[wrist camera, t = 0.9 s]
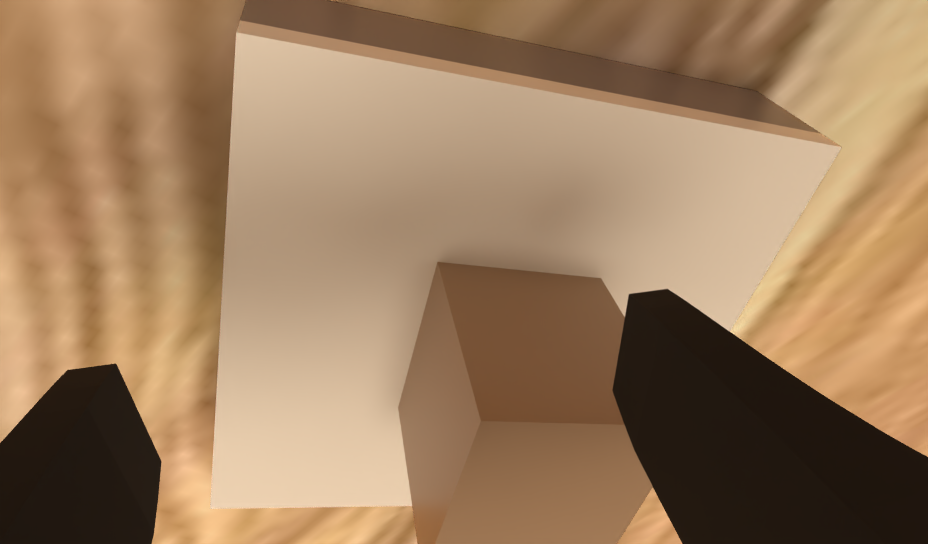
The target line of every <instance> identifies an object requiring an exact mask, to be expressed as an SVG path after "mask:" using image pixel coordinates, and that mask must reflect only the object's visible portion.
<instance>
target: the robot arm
mask: <svg viewBox="0 0 928 544" xmlns="http://www.w3.org/2000/svg"><path fill="white" fill-rule="evenodd" d="M612 391H613V394H614V397H615V400H616V402H617V405H618V408H619V411H620V414H621V416H622V419H623V422H624V425H625V427H626V430H627V433H628V435H629V438H630V440H631V443H632V446H633V448H634V451H635V453H636V455H637V457H638V459H639V461H640V463H641V465H642V467H643V469H644V470H645V472H646V474H647V476H648V478H649V480H650V482H651V484H652V486H653V488H654V490H655V492H656V494H657V496H658V498H659V500H660V501H661V503H662V505H663V507H664V509H665V511H666V513H667V515H668V517H669V519H670V521H671V522H672V524H673V526H674V528H675V530H676V532H677V534H678V536H679V538H680V540H681V542H682V543H683V544H928V457H927V456H925V455H923V454H921V453H919V452H917V451H915V450H914V449H912V448H910V447H908V446H906V445H905V444H903V443H901V442H899V441H898V440H896V439H894V438H893V437H891V436H889V435H887V434H886V433H884V432H882V431H880V430H879V429H877V428H875V427H874V426H872V425H871V424H869V423H867V422H866V421H864V420H862V419H861V418H859V417H858V416H856V415H854V414H853V413H851V412H849V411H848V410H846V409H844V408H843V407H841V406H840V405H838V404H836V403H835V402H833V401H831V400H830V399H828V398H827V397H825V396H824V395H822V394H821V393H819V392H818V391H816V390H814V389H813V388H811V387H810V386H808V385H807V384H805V383H804V382H802V381H801V380H799V379H798V378H796V377H795V376H793V375H792V374H790V373H789V372H787V371H786V370H784V369H783V368H781V367H780V366H778V365H777V364H775V363H774V362H772V361H771V360H769V359H768V358H767V357H765V356H764V355H762V354H761V353H759V352H758V351H756V350H755V349H754V348H752V347H751V346H749V345H748V344H746V343H745V342H744V341H742V340H741V339H739V338H738V337H737V336H735V335H734V334H732V333H731V332H729V331H728V330H727V329H725V328H724V327H722V326H721V325H720V324H718V323H717V322H715V321H714V320H712V319H711V318H710V317H708V316H707V315H705V314H704V313H703V312H701V311H700V310H698V309H697V308H695V307H694V306H693V305H691V304H690V303H688V302H687V301H685V300H684V299H682V298H681V297H679V296H678V295H676V294H675V293H673V292H672V291H670V290H669V289H662V290H654V291H647V292H640V293H632V294H629V296H628V302H627V308H626V314H625V319H624V325H623V331H622V337H621V343H620V349H619V354H618V360H617V366H616V372H615V378H614V383H613V389H612ZM160 471H161V460H160V458H159V455H158V453H157V451H156V449H155V447H154V445H153V442H152V440H151V438H150V436H149V434H148V432H147V429H146V427H145V425H144V423H143V421H142V419H141V416H140V414H139V412H138V410H137V408H136V406H135V403H134V401H133V399H132V397H131V395H130V393H129V390H128V388H127V386H126V384H125V382H124V380H123V377H122V375H121V373H120V371H119V369H118V367H117V364H110V365H102V366H95V367H88V368H80V369H73V370H67V371H66V372H65V373H64V374H63V375H62V376H61V377H60V378H59V379H58V380H57V382H56V383H55V384H54V385H53V386H52V387H51V388H50V389H49V390H48V391H47V392H46V393H45V394H44V396H43V397H42V398H41V399H40V400H39V401H38V402H37V403H36V404H35V405H34V407H33V408H32V409H31V410H30V411H29V412H28V413H27V414H26V415H25V416H24V418H23V419H22V420H21V421H20V422H19V423H18V424H17V425H16V426H15V428H14V429H13V430H12V431H11V432H10V433H9V434H8V435H7V436H6V438H5V439H4V440H3V441H2V442H1V443H0V544H152V539H153V535H154V528H155V519H156V511H157V503H158V493H159V482H160Z"/></svg>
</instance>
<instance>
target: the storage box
mask: <svg viewBox="0 0 928 544" xmlns="http://www.w3.org/2000/svg"><path fill="white" fill-rule="evenodd" d="M240 20H241V21H246V22H251V23H257V24H262V25H267V26H272V27H277V28H282V29H287V30H292V31H298V32H303V33H308V34H313V35H318V36H323V37H328V38H333V39H339V40H344V41H349V42H354V43H359V44H364V45H369V46H374V47H380V48H385V49H390V50H395V51H400V52H405V53H410V54H415V55H420V56H426V57H431V58H436V59H441V60H446V61H451V62H456V63H461V64H467V65H472V66H477V67H482V68H487V69H492V70H497V71H502V72H508V73H513V74H518V75H523V76H528V77H533V78H538V79H543V80H549V81H554V82H559V83H564V84H569V85H574V86H579V87H584V88H590V89H595V90H600V91H605V92H610V93H615V94H620V95H625V96H631V97H636V98H641V99H646V100H651V101H656V102H661V103H666V104H672V105H677V106H682V107H687V108H692V109H697V110H702V111H707V112H713V113H718V114H723V115H728V116H733V117H738V118H743V119H748V120H754V121H759V122H764V123H769V124H774V125H779V126H784V127H789V128H795V129H800V130H805V131H810V132H815V133H820V132H818V131H817V130H815V129H814V128H812V127H810V126H809V125H807V124H806V123H804V122H803V121H801V120H800V119H798V118H797V117H795V116H794V115H792V114H791V113H789V112H788V111H786V110H785V109H783V108H782V107H780V106H779V105H777V104H776V103H774V102H772V101H771V100H769V99H768V98H766V97H765V96H763V95H762V94H760V93H759V92H757V91H753V90H749V89H744V88H739V87H734V86H730V85H725V84H720V83H716V82H711V81H706V80H701V79H697V78H692V77H687V76H682V75H678V74H673V73H668V72H664V71H659V70H654V69H649V68H645V67H640V66H635V65H631V64H626V63H621V62H616V61H612V60H607V59H602V58H597V57H593V56H588V55H583V54H579V53H574V52H569V51H564V50H560V49H555V48H550V47H545V46H541V45H536V44H531V43H527V42H522V41H517V40H512V39H508V38H503V37H498V36H493V35H489V34H484V33H479V32H475V31H470V30H465V29H460V28H456V27H451V26H446V25H441V24H437V23H432V22H427V21H423V20H418V19H413V18H408V17H404V16H399V15H394V14H389V13H385V12H380V11H375V10H371V9H366V8H361V7H356V6H352V5H347V4H342V3H337V2H333V1H328V0H246V3H245V6H244V9H243V12H242V16H241V19H240ZM820 134H821V133H820Z"/></svg>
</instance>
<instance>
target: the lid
mask: <svg viewBox="0 0 928 544" xmlns="http://www.w3.org/2000/svg"><path fill="white" fill-rule="evenodd" d="M841 148H842V147H841V146H839V145H838V144H836V143H835V142H833V141H832V140H830V139H829V138H827V137H826V136H824V135H823V134H820V133H815V132H810V131H805V130H800V129H795V128H789V127H784V126H779V125H774V124H769V123H764V122H759V121H754V120H748V119H743V118H738V117H733V116H728V115H723V114H718V113H713V112H707V111H702V110H697V109H692V108H687V107H682V106H677V105H672V104H666V103H661V102H656V101H651V100H646V99H641V98H636V97H631V96H625V95H620V94H615V93H610V92H605V91H600V90H595V89H590V88H584V87H579V86H574V85H569V84H564V83H559V82H554V81H549V80H543V79H538V78H533V77H528V76H523V75H518V74H513V73H508V72H502V71H497V70H492V69H487V68H482V67H477V66H472V65H467V64H461V63H456V62H451V61H446V60H441V59H436V58H431V57H426V56H420V55H415V54H410V53H405V52H400V51H395V50H390V49H385V48H380V47H374V46H369V45H364V44H359V43H354V42H349V41H344V40H339V39H333V38H328V37H323V36H318V35H313V34H308V33H303V32H298V31H292V30H287V29H282V28H277V27H272V26H267V25H262V24H257V23H251V22H246V21H241V20H240V22H239V25H238V28H237V31H236V45H235V64H234V82H233V100H232V119H231V137H230V155H229V174H228V192H227V210H226V229H225V247H224V265H223V284H222V302H221V320H220V339H219V357H218V375H217V394H216V412H215V430H214V449H213V467H212V485H211V504H210V509H228V508H300V507H371V506H412V508H413V515H414V522H415V529H416V536H417V543H418V544H617V543H618V541H619V540H620V538H621V537H622V535H623V533H624V532H625V530H626V529H627V527H628V525H629V524H630V522H631V521H632V519H633V517H634V516H635V514H636V513H637V511H638V510H639V508H640V506H641V505H642V503H643V502H644V500H645V498H646V497H647V495H648V494H649V492H650V490H651V489H652V487H653V486H652V484H651V482H650V480H649V478H648V476H647V474H646V472H645V470H644V469H643V467H642V465H641V463H640V461H639V459H638V457H637V455H636V453H635V451H634V448H633V446H632V443H631V440H630V438H629V435H628V433H627V430H626V427H625V425H624V422H623V419H622V416H621V414H620V411H619V408H618V405H617V402H616V400H615V397H614V394H613V391H612V389H613V383H614V378H615V372H616V366H617V360H618V354H619V349H620V343H621V337H622V331H623V325H624V319H625V314H626V308H627V302H628V296H629V294H632V293H640V292H647V291H654V290H662V289H669V290H670V291H672V292H673V293H675V294H676V295H678V296H679V297H681V298H682V299H684V300H685V301H687V302H688V303H690V304H691V305H693V306H694V307H695V308H697V309H698V310H700V311H701V312H703V313H704V314H705V315H707V316H708V317H710V318H711V319H712V320H714V321H715V322H717V323H718V324H720V325H721V326H722V327H724V328H725V329H727V330H728V331H729V332H730V331H731V329H732V328H733V326H734V324H735V323H736V321H737V319H738V318H739V316H740V314H741V313H742V311H743V309H744V308H745V306H746V304H747V303H748V301H749V300H750V298H751V296H752V295H753V293H754V291H755V290H756V288H757V286H758V285H759V283H760V281H761V280H762V278H763V276H764V275H765V273H766V272H767V270H768V268H769V267H770V265H771V263H772V262H773V260H774V258H775V257H776V255H777V253H778V252H779V250H780V248H781V247H782V245H783V244H784V242H785V240H786V239H787V237H788V235H789V234H790V232H791V230H792V229H793V227H794V225H795V224H796V222H797V220H798V219H799V217H800V216H801V214H802V212H803V211H804V209H805V207H806V206H807V204H808V202H809V201H810V199H811V197H812V196H813V194H814V192H815V191H816V189H817V188H818V186H819V184H820V183H821V181H822V179H823V178H824V176H825V174H826V173H827V171H828V169H829V168H830V166H831V164H832V163H833V161H834V160H835V158H836V156H837V155H838V153H839V151H840V150H841Z"/></svg>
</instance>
